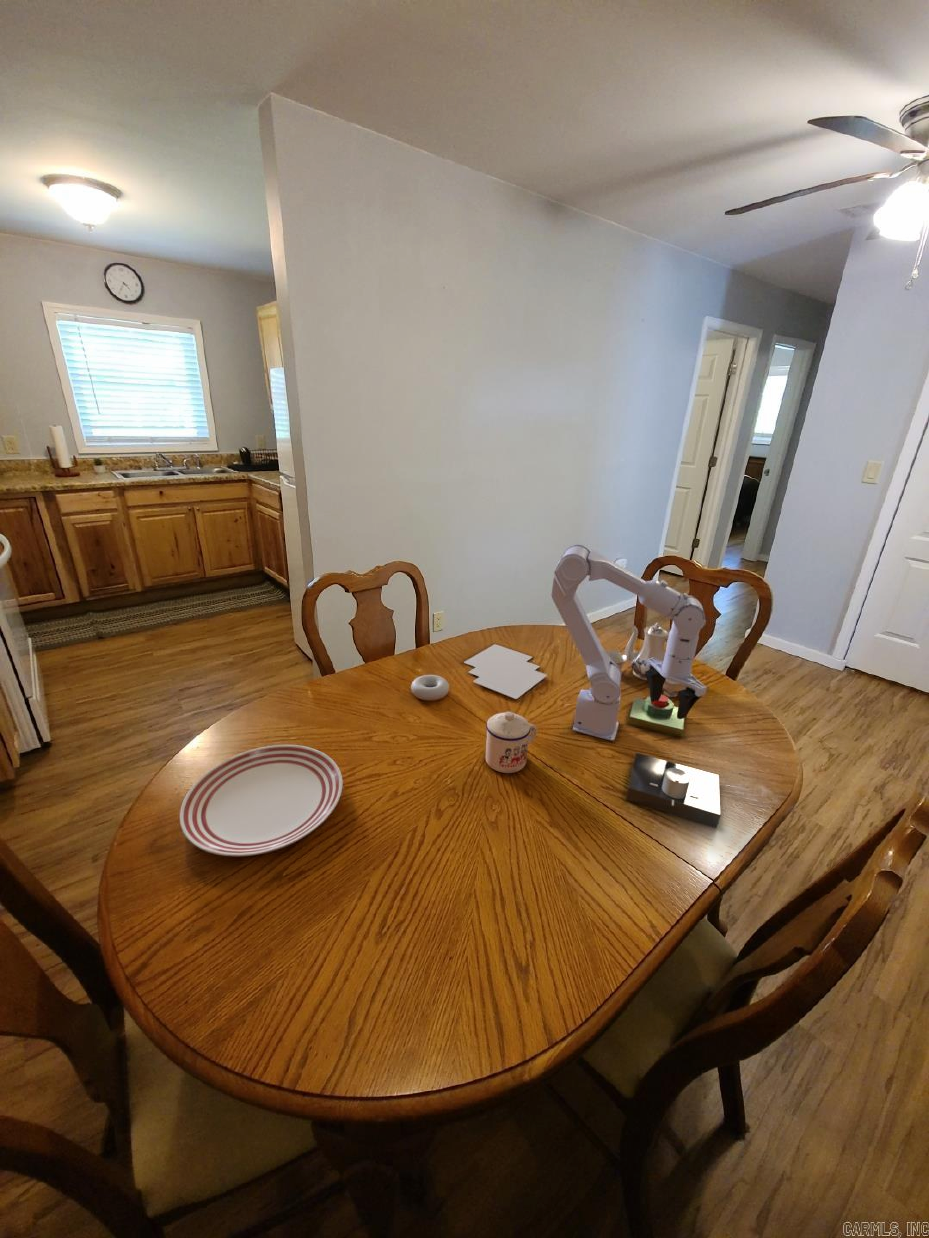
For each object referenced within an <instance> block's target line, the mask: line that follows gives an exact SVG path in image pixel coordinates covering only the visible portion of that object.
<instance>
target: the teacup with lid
mask: <svg viewBox="0 0 929 1238" xmlns="http://www.w3.org/2000/svg"><path fill="white" fill-rule="evenodd" d="M485 724H486V725H485V727H486V728H485V729H486V742H485V743H486V744H485V761H486V764H487V765H488V766H489V767H490V768H491V769H492V770H494V771H497V772H499V773H505V774H512V773H517V772H519V771H521V770H523V769H524V767H525V766H526V764H527V758H528V747H529V745H530V744H532V743H533V742H534V740H535V738H536V737H537V733H538V728H537V726H536V725H534V724H533V723H530V722H529V721H528V720H527V719H526V718H525V717H523V716H522V715H520V714H517V713H514V712H513V711H505V712H499V713H495V714H494V715H492V716H490V717H489V718H488V720H487V722H486V723H485Z"/></svg>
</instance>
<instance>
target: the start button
mask: <svg viewBox="0 0 929 1238" xmlns="http://www.w3.org/2000/svg"><path fill="white" fill-rule="evenodd" d="M668 699H669V697H668V696H667V695H665V694H662V693H661V697H660V699H659V700H657V701H654V702H652V704H654V705H656V706H660V707H666V706H667V704H668Z"/></svg>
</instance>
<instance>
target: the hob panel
mask: <svg viewBox="0 0 929 1238" xmlns="http://www.w3.org/2000/svg"><path fill="white" fill-rule="evenodd" d="M633 758H634V759H633V764H632V768H631V773H630V778H629V783H628V787H627V791H626V797H625V800H626V801H628V802H631V803H635V804H638V805H641V806H644V807H647V808H651V809H653V810H657V811H661V812H664V813H667V814H671V815H674V816H677V817H680V818H684V819H687V820H690V821H693V822H696V823H700V824H703V825H707V826H709V827H712V828H716V829H718V826H719V823H720V819H721V815H722V814H721V813H722V812H721V791H720V790H721V789H720V788H721V786H720V775H719V774H716V773H714V772H713V773H712V772H709V771H705V770H701V769H697V768H694V767H691V766H687V765H683V764H679V763H675V762H672V761H668V760H664V759H661V758H657V757H654V756H650V755H647V754H643V753H639V752H635V753H634V757H633ZM668 768H678V769H681V770H683V771H685V772H686V773H687V774H688V775H689V776H690V783H689V787H688V790H687V794H686V796H685V797H684V798H682V799H676V798H672V797H670V796H668V795H666V794H665V793H664V792H663V790H662V784H663V779H664V775H665V771H666V770H667V769H668Z"/></svg>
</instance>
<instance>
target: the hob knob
mask: <svg viewBox="0 0 929 1238" xmlns="http://www.w3.org/2000/svg"><path fill="white" fill-rule="evenodd" d="M689 783H690V776H689V775H688V774H687V773H686V772H685V771H683V770H681V769H678V768H668V769H667V770H666V771H665V775H664V779H663V784H662V790H663V792H664V793H665V794H666V795H668V796H670V797H672V798H676V799H682V798H684V797H685V796H686V794H687V790H688V787H689Z"/></svg>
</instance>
